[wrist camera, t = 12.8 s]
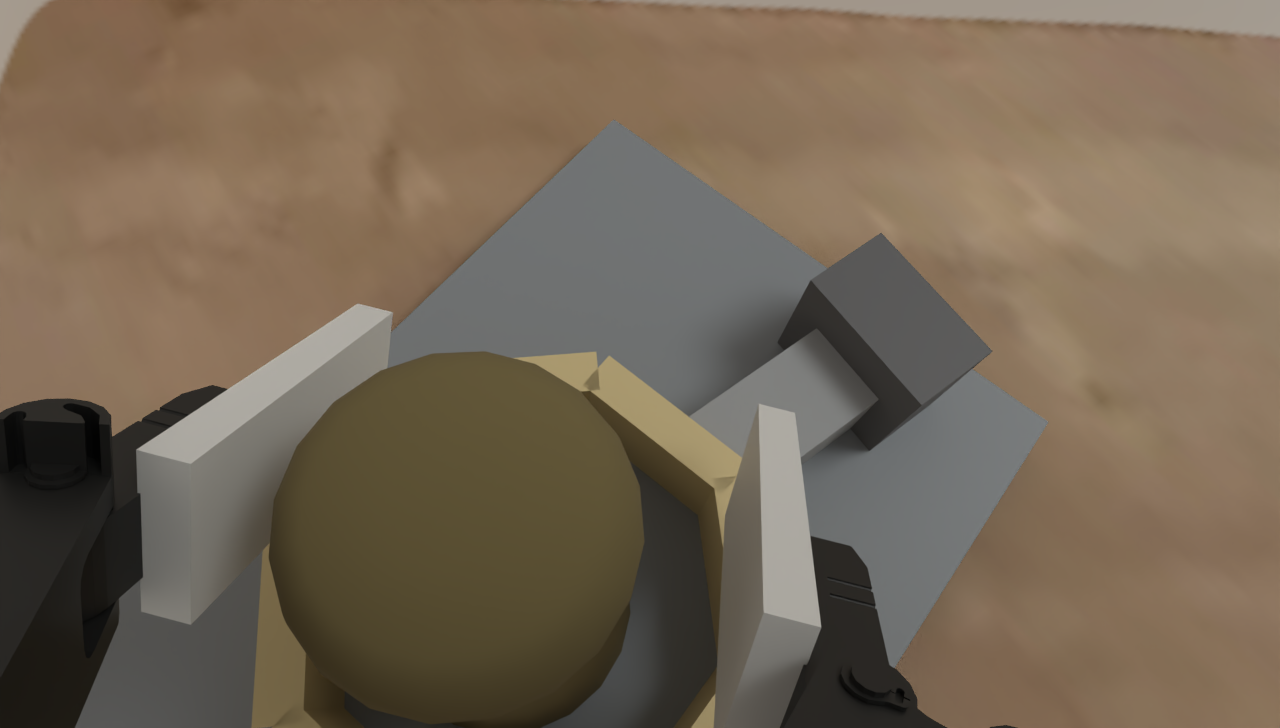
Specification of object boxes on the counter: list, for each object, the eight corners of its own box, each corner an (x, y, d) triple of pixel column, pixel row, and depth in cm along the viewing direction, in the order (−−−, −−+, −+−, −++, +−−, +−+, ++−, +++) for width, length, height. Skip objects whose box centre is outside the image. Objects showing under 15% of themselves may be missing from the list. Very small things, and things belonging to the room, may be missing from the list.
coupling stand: (612, 148, 28) (617, 30, 23) (1022, 437, 24) (1130, 372, 20) (-96, 837, 19) (-333, 886, 14) (398, 1419, 16) (314, 1741, 11)
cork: (372, 511, 21) (184, 330, 11) (602, 462, 22) (626, 254, 12) (403, 765, 19) (203, 837, 9) (656, 698, 20) (744, 692, 10)
